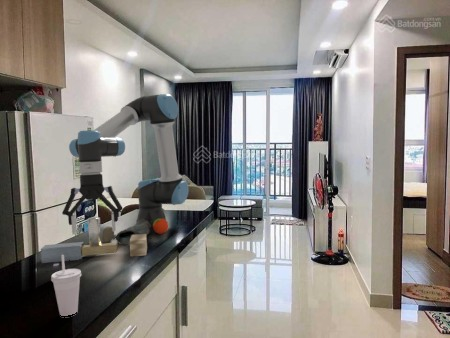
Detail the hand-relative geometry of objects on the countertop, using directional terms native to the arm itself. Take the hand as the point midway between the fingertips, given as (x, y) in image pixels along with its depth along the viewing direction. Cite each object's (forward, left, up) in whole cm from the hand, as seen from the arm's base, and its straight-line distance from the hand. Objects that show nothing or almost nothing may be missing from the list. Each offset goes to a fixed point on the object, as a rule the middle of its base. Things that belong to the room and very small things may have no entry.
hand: (94, 232), depth 122 cm
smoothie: (+24, +38, -9) cm, 46 cm away
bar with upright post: (+3, -2, -8) cm, 9 cm away
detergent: (-23, -10, -9) cm, 27 cm away
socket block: (-13, +9, -9) cm, 18 cm away
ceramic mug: (-12, -18, -9) cm, 23 cm away
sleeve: (+9, -6, -9) cm, 14 cm away
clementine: (-34, -8, -9) cm, 36 cm away
